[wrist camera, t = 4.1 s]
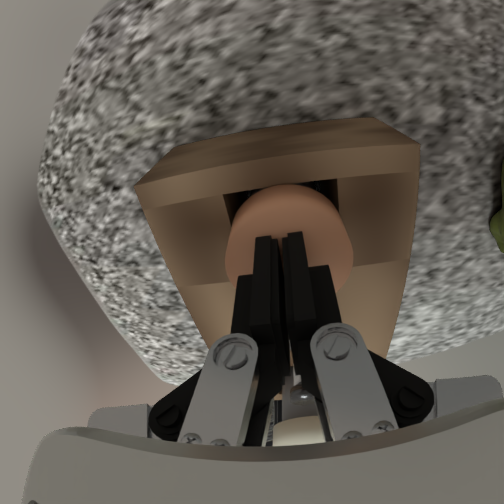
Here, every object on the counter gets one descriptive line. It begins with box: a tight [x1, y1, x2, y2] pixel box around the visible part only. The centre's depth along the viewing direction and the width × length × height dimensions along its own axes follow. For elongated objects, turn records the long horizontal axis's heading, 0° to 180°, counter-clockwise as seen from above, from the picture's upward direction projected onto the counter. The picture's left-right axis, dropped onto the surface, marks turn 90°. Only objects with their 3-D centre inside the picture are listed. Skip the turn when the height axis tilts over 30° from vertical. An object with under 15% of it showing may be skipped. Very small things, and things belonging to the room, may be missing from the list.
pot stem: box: [289, 340, 315, 405], centre depth 14 cm, size 2×2×5 cm
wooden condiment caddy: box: [134, 117, 420, 400], centre depth 18 cm, size 12×20×6 cm, turn 11°
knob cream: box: [273, 366, 324, 446], centre depth 18 cm, size 5×5×8 cm
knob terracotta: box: [225, 181, 353, 292], centre depth 13 cm, size 5×5×8 cm
